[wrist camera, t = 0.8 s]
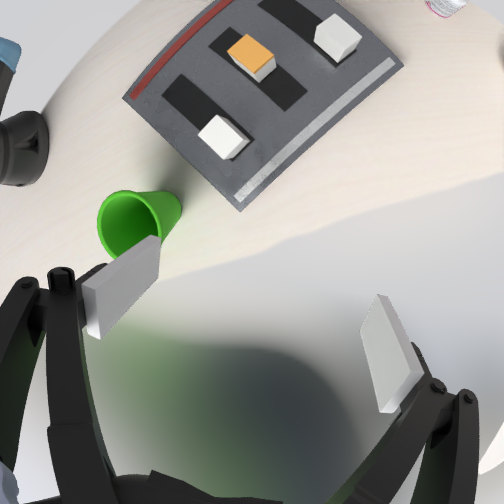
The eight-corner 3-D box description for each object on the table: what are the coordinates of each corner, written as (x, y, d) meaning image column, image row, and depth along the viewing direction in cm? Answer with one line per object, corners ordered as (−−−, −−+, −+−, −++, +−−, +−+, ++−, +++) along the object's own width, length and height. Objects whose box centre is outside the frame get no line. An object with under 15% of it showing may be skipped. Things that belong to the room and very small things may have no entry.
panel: (129, 99, 34) (120, 97, 32) (272, -33, 24) (270, -41, 22) (242, 209, 38) (239, 213, 36) (399, 69, 28) (405, 65, 26)
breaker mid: (235, 63, 29) (226, 51, 24) (253, 48, 28) (246, 33, 23) (258, 82, 29) (253, 72, 25) (276, 67, 28) (273, 54, 24)
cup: (145, 170, 38) (101, 181, 28) (202, 188, 38) (169, 204, 28) (135, 226, 41) (93, 252, 31) (187, 246, 41) (155, 278, 31)
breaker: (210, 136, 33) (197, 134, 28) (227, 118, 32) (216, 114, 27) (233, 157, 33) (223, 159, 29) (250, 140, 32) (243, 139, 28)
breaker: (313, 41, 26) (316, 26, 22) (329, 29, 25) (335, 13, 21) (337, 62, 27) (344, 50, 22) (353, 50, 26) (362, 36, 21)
